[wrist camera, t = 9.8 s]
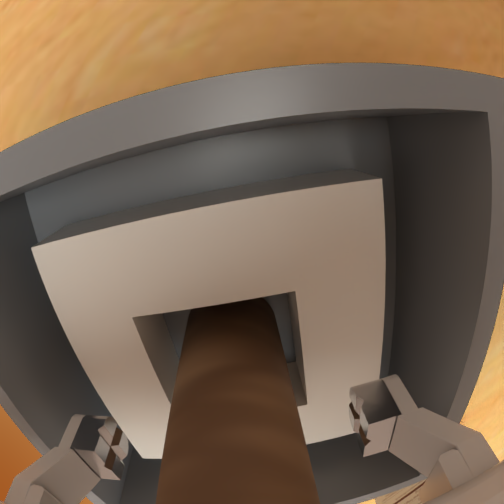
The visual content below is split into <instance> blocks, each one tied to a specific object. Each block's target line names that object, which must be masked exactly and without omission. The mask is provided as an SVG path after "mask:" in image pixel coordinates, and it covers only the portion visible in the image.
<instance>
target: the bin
mask: <svg viewBox="0 0 504 504" xmlns="http://www.w3.org/2000/svg"><path fill="white" fill-rule="evenodd" d="M503 284H504V78H500V77H495V76H490V75H485V74H480V73H474V72H468V71H462V70H455V69H448V68H440V67H431V66H421V65H408V64H391V63H327V64H309V65H295V66H285V67H275V68H267V69H259V70H251V71H245V72H238V73H232V74H226V75H221V76H215V77H210V78H205V79H200V80H196V81H191V82H187V83H182V84H178V85H174V86H170V87H166V88H162V89H158V90H155V91H151V92H148V93H144V94H141V95H137V96H134V97H131V98H128V99H124V100H121V101H118V102H115V103H112V104H109V105H106V106H103V107H101V108H98V109H95V110H92V111H90V112H87V113H84V114H82V115H79V116H77V117H74V118H72V119H69V120H67V121H64V122H62V123H60V124H57V125H55V126H53V127H50V128H48V129H46V130H44V131H42V132H39V133H37V134H35V135H33V136H31V137H29V138H27V139H25V140H23V141H21V142H19V143H17V144H15V145H13V146H11V147H9V148H7V149H5V150H3V151H2V152H0V404H1V406H2V407H3V408H4V410H5V411H6V412H7V414H8V415H9V416H10V418H11V419H12V420H13V422H14V423H15V424H16V425H17V426H18V428H19V429H20V430H21V431H22V433H23V434H24V435H25V436H26V437H27V439H28V440H29V441H30V442H31V443H32V444H33V445H34V446H35V448H36V449H37V450H38V451H39V452H40V453H41V454H42V455H45V454H46V453H47V452H49V451H50V450H51V449H53V448H54V447H58V446H59V444H60V442H61V439H62V437H63V435H64V433H65V430H66V428H67V426H68V424H69V422H70V420H71V417H72V416H73V415H75V414H80V415H94V416H110V417H113V418H114V419H115V420H116V422H117V428H119V429H120V430H122V431H123V432H124V433H125V435H126V437H127V439H128V446H129V450H128V454H127V456H126V457H125V458H124V459H123V460H122V461H123V463H124V465H125V466H124V470H123V474H122V478H121V480H111V479H101V478H100V479H101V480H100V481H99V482H98V483H97V484H96V485H95V487H94V488H93V489H92V490H91V491H90V492H89V493H88V494H87V495H86V497H87V498H88V499H89V500H90V501H91V502H93V503H94V504H156V497H157V489H158V482H159V475H160V468H161V462H162V455H163V449H164V443H165V437H166V431H167V425H168V419H169V413H170V408H171V402H172V397H173V391H174V386H175V381H176V375H177V370H178V365H179V360H180V355H181V350H182V345H183V340H184V336H185V331H186V326H187V321H188V317H189V314H190V311H191V309H193V308H200V307H206V306H213V305H219V304H225V303H231V302H237V301H243V300H248V299H254V298H260V297H262V298H263V299H265V300H266V301H267V302H268V304H269V305H270V306H271V308H272V310H273V312H274V314H275V318H276V322H277V326H278V330H279V334H280V338H281V342H282V346H283V350H284V354H285V358H286V363H287V367H288V371H289V375H290V379H291V383H292V387H293V391H294V396H295V400H296V404H297V408H298V412H299V416H300V420H301V425H302V429H303V433H304V437H305V441H306V446H307V450H308V454H309V458H310V462H311V467H312V471H313V475H314V479H315V484H316V488H317V492H318V496H319V501H320V504H357V503H361V502H364V501H367V500H371V499H374V498H377V497H380V496H383V495H386V494H389V493H392V492H394V491H397V490H400V489H402V488H405V487H408V486H410V485H413V484H415V483H418V482H420V481H422V480H425V479H427V478H428V477H426V476H425V475H423V474H422V473H420V472H419V471H417V470H416V469H414V468H413V467H411V466H410V465H408V464H407V463H405V462H404V461H402V460H401V459H400V458H398V457H397V456H395V455H394V454H392V453H391V452H390V451H389V450H386V451H383V452H379V453H376V454H373V455H369V456H365V457H363V455H362V453H361V450H360V447H359V445H358V442H357V439H358V433H356V432H354V431H353V428H352V426H351V422H350V418H349V404H350V403H351V402H352V401H351V399H350V396H349V391H350V388H351V387H353V386H357V385H361V384H364V383H367V382H371V381H374V380H377V379H381V378H385V377H388V376H391V375H394V374H396V375H398V376H399V378H400V379H401V381H402V383H403V384H404V386H405V387H406V389H407V391H408V392H409V394H410V396H411V397H412V399H413V401H414V402H415V404H416V406H417V407H418V409H419V408H422V407H423V408H425V409H427V410H430V411H432V412H434V413H436V414H438V415H441V416H443V417H445V418H447V419H450V420H452V421H454V422H456V423H460V421H461V419H462V417H463V414H464V412H465V410H466V407H467V405H468V403H469V400H470V398H471V395H472V393H473V390H474V388H475V385H476V382H477V380H478V377H479V374H480V371H481V368H482V365H483V362H484V359H485V356H486V353H487V350H488V346H489V343H490V340H491V336H492V332H493V329H494V325H495V321H496V317H497V313H498V309H499V304H500V299H501V295H502V290H503Z"/></svg>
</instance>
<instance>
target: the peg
mask: <svg viewBox="0 0 504 504" xmlns="http://www.w3.org/2000/svg"><path fill="white" fill-rule="evenodd" d="M156 504H320V501H319V496H318V492H317V488H316V484H315V479H314V475H313V471H312V467H311V462H310V458H309V454H308V450H307V446H306V441H305V437H304V433H303V429H302V425H301V420H300V416H299V412H298V408H297V404H296V400H295V396H294V391H293V387H292V383H291V379H290V375H289V371H288V367H287V363H286V358H285V354H284V350H283V346H282V342H281V338H280V334H279V330H278V326H277V322H276V318H275V314H274V312H273V310H272V308H271V306H270V305H269V304H268V302H267V301H266V300H265V299H263V298H262V297H260V298H254V299H248V300H243V301H237V302H231V303H225V304H219V305H213V306H206V307H200V308H193V309H191V311H190V314H189V317H188V321H187V326H186V331H185V336H184V340H183V345H182V350H181V355H180V360H179V365H178V370H177V375H176V381H175V386H174V391H173V397H172V402H171V408H170V413H169V419H168V425H167V431H166V437H165V443H164V449H163V455H162V462H161V468H160V475H159V482H158V489H157V497H156Z"/></svg>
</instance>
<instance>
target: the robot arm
mask: <svg viewBox="0 0 504 504" xmlns="http://www.w3.org/2000/svg"><path fill="white" fill-rule="evenodd" d="M349 396H350V399H351V401H352V402H351V403H350V404H349V418H350V422H351V426H352V428H353V431H354V432H356V433H358V439H357V442H358V445H359V447H360V450H361V453H362V455H363V457H365V456H369V455H373V454H376V453H379V452H383V451H386V450H389V451H390V452H391V453H392V454H394V455H395V456H397V457H398V458H400V459H401V460H402V461H404V462H405V463H407V464H408V465H410V466H411V467H413V468H414V469H416V470H417V471H419V472H420V473H422V474H423V475H425V476H426V477H428V478H427V480H426V481H425V483H424V485H423V486H422V488H421V490H420V491H419V493H418V495H419V497H420V500H421V502H422V504H504V460H502V461H501V462H499V460H498V459H497V457H496V455H495V454H494V452H493V451H492V449H491V448H490V446H489V444H488V443H487V441H486V440H485V438H484V437H483V435H482V434H481V433H480V432H477V431H475V430H473V429H470V428H468V427H466V426H463V425H461V424H459V423H456V422H454V421H452V420H450V419H447V418H445V417H443V416H441V415H438V414H436V413H434V412H432V411H430V410H427V409H425V408H423V407H422V408H419V409H418V407H417V406H416V404H415V402H414V401H413V399H412V397H411V396H410V394H409V392H408V391H407V389H406V387H405V386H404V384H403V383H402V381H401V379H400V378H399V376H398V375H396V374H394V375H391V376H388V377H385V378H381V379H377V380H374V381H371V382H367V383H364V384H361V385H357V386H353V387H351V388H350V391H349ZM128 450H129V446H128V439H127V437H126V435H125V433H124V432H123V431H122V430H120V429H119V428H117V422H116V420H115V419H114V418H113V417H110V416H94V415H80V414H75V415H73V416H72V417H71V420H70V422H69V424H68V426H67V428H66V430H65V433H64V435H63V437H62V439H61V442H60V444H59V446H58V447H54V448H53V449H51V450H50V451H49V452H47V453H46V454H45V455H43V456H42V457H41V458H40V459H38V460H37V461H36V462H34V463H33V464H32V465H30V466H29V467H28V468H26V469H25V470H24V471H22V472H21V473H20V474H18V475H17V476H16V477H15V478H14V480H13V482H12V485H11V487H10V489H9V492H8V494H7V497H6V499H5V501H4V502H2V501H0V504H79V503H80V502H81V501H82V500H83V499H84V498H85V497H86V495H87V494H88V493H89V492H90V491H91V490H92V489H93V488H94V487H95V485H96V484H97V483H98V482H99V481H100V480H101V479H111V480H121V478H122V474H123V470H124V466H125V465H124V463H123V461H122V460H123V459H124V458H125V457H126V456H127V454H128ZM100 478H101V479H100Z"/></svg>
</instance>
